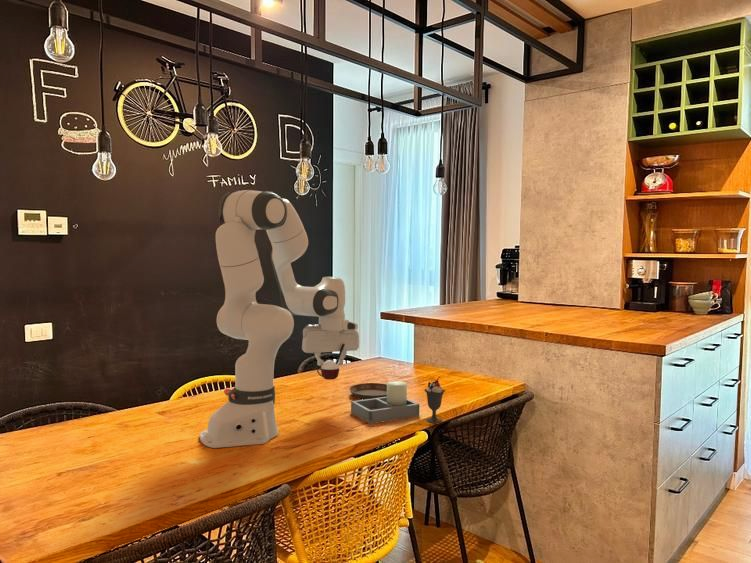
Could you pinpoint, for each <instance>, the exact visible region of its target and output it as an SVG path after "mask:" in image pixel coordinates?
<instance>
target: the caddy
mask: <svg viewBox="0 0 751 563" xmlns="http://www.w3.org/2000/svg"><path fill="white" fill-rule="evenodd" d="M386 384H387V397H381V398H373V399H366V400H361V399H358V400H352V401H350V414H352V415H353V414H354V415H353V416H355V415H356V417H357V418H359V419H360V418H361V420H362V419H363V420H362V421H364V422H365V421H366V422H365V423H367V422H368V423H367V424H369V425H371V424H370V423H372V424H377V423H376V422H378V423H383V422H382V421H384V422H390V420H391V421H397V420H402V419H408V418H414V417H420V403H418V402H415V401H413V400H411V399H409V398H407V394H408V383H407V382H404V381H397V380H395V381H388V382H386ZM396 419H397V420H396Z"/></svg>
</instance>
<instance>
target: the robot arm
mask: <svg viewBox="0 0 751 563" xmlns="http://www.w3.org/2000/svg"><path fill="white" fill-rule="evenodd" d="M217 211H218V217H219V218H218V221H219V224H220V226H219V227H218V228H217V229H216V231H215V245H216V246H215V248H216V254H217V260H218V264H219V267H220V271H221V276H222V280H223V281H222V282H223V284H224V291H225V293H224V294H225V297H224V298H225V299H224V303H223V305H222V306H221V307H220V309H219V310H218V312H217V315H216V325H217V328H218V330H219V332H220V333H222V334H223V335H225V336H228V337H230V338H233V339H236V340H243V341H244V340H246V341H248V345H247V349H246V351H245V353H244V354H242V355H240V356H239V357H238V358H237V360H236V361H235V369H234V371H235V375H234V380H235V381H234V382H235V384H234V387H233V388H231V389H230V388H229V387H225V388H224V390H223V393H224V395H225V396H227V397H228V401H227V402H225V403H224V404H223V405H221V406H220V407H219V408H218V409H217V410H216V411H215V412H213V413H212V414H211V415H210V417H209V420H208V423H207V429H205V430H202V431H201V432H200V434H199V441H200V442H201V443H202V445H204V446H205V447H209V448H213V449H217V448H218V449H219V448H220V449H221V448H229V447H230V448H231V447H241V446H252V445H261V444H263V445H264V444H266V443H268V442H270V440H271V439H274V438H276V437H277V436H278V435H279V432H280V431H279V428H278V425H277V420H276V415H275V414H276V413H275V403H276V402H275V401H276V389H275V388H276V387H275V386H274V370H275V362H276V361H275V360H276V357H277V354H278V351H279V349H280V347H281V346H282V345H283V344H284V343H285V342H286V341H287V340H288V339H289V338H290V337H291V335H292V334H293V331H294V327H295V320H294V317H293V316H304V317H305V316H306V317H317V318H318V324H307V325H306V326H305V327H303V329H302V343H301V350H302V351H303V352H304V353H307V354H314V357H315V359H316V360H317V362H316V365H317V366H320V367H321V365H323V363H324V359H321V357H320V356H321V355H322V354H321V353H332V352H333V353H335V352H340V350H341V347H342V344H345V345H344V348H343V351H342V354H341V356H340V359H339V362H338V364H339V365H343V364H344V359H345V358H346V356H347V352H350V351H351V352H354V351H358V349H359V348H360V335H359V332H358V328H359V327H358V323H355V322H354V321H350V320H348V319H346V314H345V305H346V287H345V282H344V280H343V279H342V278H339V277H336V276H335V277H334V276H323V277H322V279H321V281H320V282H319V283H318V284H316V285H315V286H304V285H300V284H298V283H297V281H296V278H295V275H294V272H293V268H292V265H291V264H292V263H293V262H295V261H296V260H298V259H300V257H302V256H303V255H305V253H306V251H307V249H308V246H309V238H308V234H307V232H306V229H305V227H304V224H303V222H302V220H301V218H300V216H299V214H298V213H297V210H296V209H295V207H294V205H293V204H292V203H291V202H290V201H289V199H286V198H282V197H281V196H280V195H278V194H276V193H274V192H273V191H260V190H253V189H244V190H233V191H230V192H227V193H225V194H224V195H223V196H222V197H221V198H220V201H219V202H218V210H217ZM257 230H264V231H266V235H267V237H268V240H269V241H270V244H271V247H272V248H271V249H272V250H271V251H270V262H271V266H272V270H273V273H274V277H275V280H276V282H277V286H278V290H279V293H280V294H279V295H280V303H281V306H282V307H281V306H278V305H274V304H264V303H258V301H257V299H256V297H257V296H256V293H257V292H258V291H259V290H260V289H261V288H262V287H263V284H264V282H265V277H264V273H263V267H262V265H261V260H260V257H259V252H258V248H257V245H256V242H255V236H256V231H257Z"/></svg>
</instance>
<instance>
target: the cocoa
mask: <svg viewBox="0 0 751 563" xmlns="http://www.w3.org/2000/svg"><path fill="white" fill-rule="evenodd" d="M344 345H345V344H342V347H341V350H340V351H339V353H338V356H337V358H336V360H335V361H333V360H332V359H327V360H326V361H323V365H321V366H320V368H317V369H316V372H317V374H318V375H319V376H320V377H322V378H323V379H325V380H327V381H328V380H331V381H332V380H335V379H337V378H338V376H339V374H340V364H338V362H339V359H340V356H341V354H342V351H343V348H344ZM319 370H320V371H319Z"/></svg>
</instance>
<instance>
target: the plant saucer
mask: <svg viewBox="0 0 751 563" xmlns="http://www.w3.org/2000/svg"><path fill="white" fill-rule="evenodd" d="M348 389H349V392H350V393H351V394H352V395H353V397H354V398H355V397H356V398H355V399H358V398H359V399H358V400H361V399H363V400H366V399H373V398H381V397H387V383H381V382H365V383H364V382H363V383H359V384H358V383H357V384H354V385H352V386H350V387H349V388H348Z"/></svg>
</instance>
